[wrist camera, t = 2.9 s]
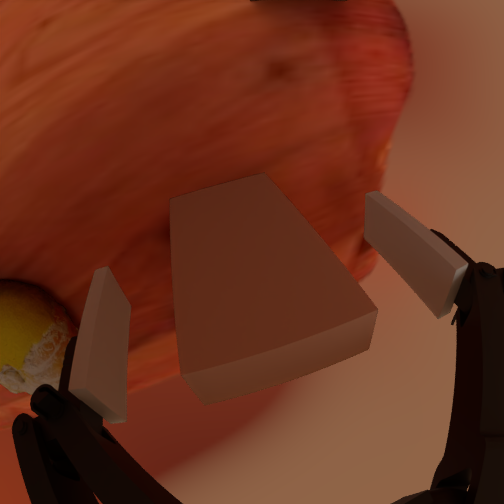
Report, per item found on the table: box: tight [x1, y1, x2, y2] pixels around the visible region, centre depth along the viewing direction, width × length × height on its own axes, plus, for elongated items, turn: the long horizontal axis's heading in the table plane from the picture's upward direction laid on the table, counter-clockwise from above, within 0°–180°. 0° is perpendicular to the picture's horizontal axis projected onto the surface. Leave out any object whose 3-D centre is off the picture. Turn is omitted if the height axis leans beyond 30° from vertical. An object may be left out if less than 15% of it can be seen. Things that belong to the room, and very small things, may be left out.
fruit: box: [0, 279, 79, 395], centre depth 17 cm, size 11×10×8 cm
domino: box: [170, 173, 378, 405], centre depth 13 cm, size 6×2×12 cm, turn 100°
